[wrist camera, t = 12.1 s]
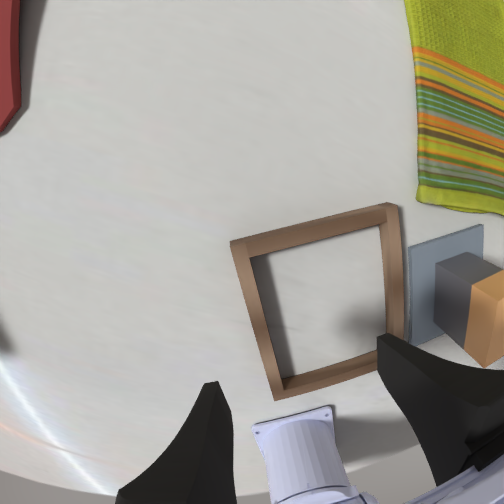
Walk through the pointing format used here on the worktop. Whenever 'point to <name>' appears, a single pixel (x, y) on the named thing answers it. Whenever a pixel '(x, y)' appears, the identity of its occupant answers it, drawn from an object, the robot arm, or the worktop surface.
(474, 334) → the orange grey tall block
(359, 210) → the frame
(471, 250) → the mat
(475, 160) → the dish towel
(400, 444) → the worktop surface
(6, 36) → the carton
